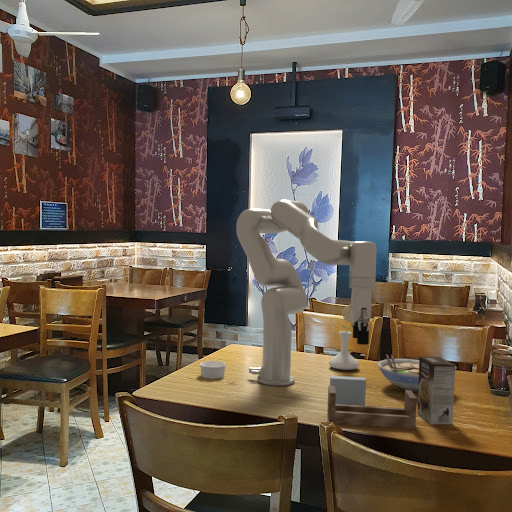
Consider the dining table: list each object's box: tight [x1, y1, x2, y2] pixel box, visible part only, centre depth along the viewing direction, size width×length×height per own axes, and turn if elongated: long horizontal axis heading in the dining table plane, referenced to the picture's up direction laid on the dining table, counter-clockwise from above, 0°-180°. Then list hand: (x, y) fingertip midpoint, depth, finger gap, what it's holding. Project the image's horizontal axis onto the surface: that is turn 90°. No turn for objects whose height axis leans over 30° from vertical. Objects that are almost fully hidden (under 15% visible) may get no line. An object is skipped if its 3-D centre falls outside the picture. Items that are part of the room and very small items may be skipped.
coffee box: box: [416, 355, 456, 425], centre depth 137 cm, size 9×6×16 cm
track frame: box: [327, 384, 418, 430], centre depth 133 cm, size 22×7×8 cm, turn 84°
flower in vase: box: [328, 303, 360, 371], centre depth 190 cm, size 13×11×25 cm
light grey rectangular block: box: [329, 375, 367, 406], centre depth 146 cm, size 10×3×8 cm, turn 84°
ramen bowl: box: [377, 354, 419, 393], centre depth 166 cm, size 25×23×8 cm
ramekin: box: [199, 360, 227, 380], centre depth 174 cm, size 9×9×4 cm
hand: (360, 341), depth 149 cm, fingers open, 9 cm apart
